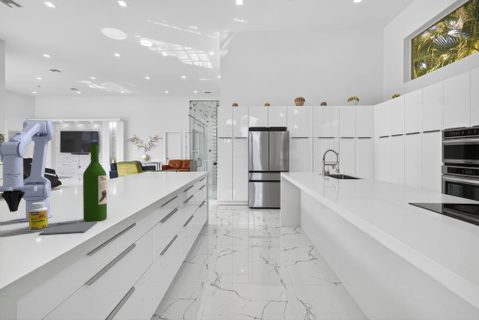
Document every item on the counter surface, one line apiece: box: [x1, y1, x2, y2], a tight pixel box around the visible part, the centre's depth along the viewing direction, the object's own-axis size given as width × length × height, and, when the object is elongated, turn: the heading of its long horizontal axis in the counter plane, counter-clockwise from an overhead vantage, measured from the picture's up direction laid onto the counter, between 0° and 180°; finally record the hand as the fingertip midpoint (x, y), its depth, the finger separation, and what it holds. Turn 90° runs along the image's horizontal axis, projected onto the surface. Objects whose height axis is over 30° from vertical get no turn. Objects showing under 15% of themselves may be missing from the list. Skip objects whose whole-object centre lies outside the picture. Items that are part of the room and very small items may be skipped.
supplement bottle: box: [28, 202, 49, 233], centre depth 99 cm, size 6×6×10 cm
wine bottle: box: [82, 144, 108, 223], centre depth 115 cm, size 9×9×32 cm
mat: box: [39, 221, 98, 236], centre depth 101 cm, size 14×14×1 cm
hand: (13, 211), depth 97 cm, fingers closed
